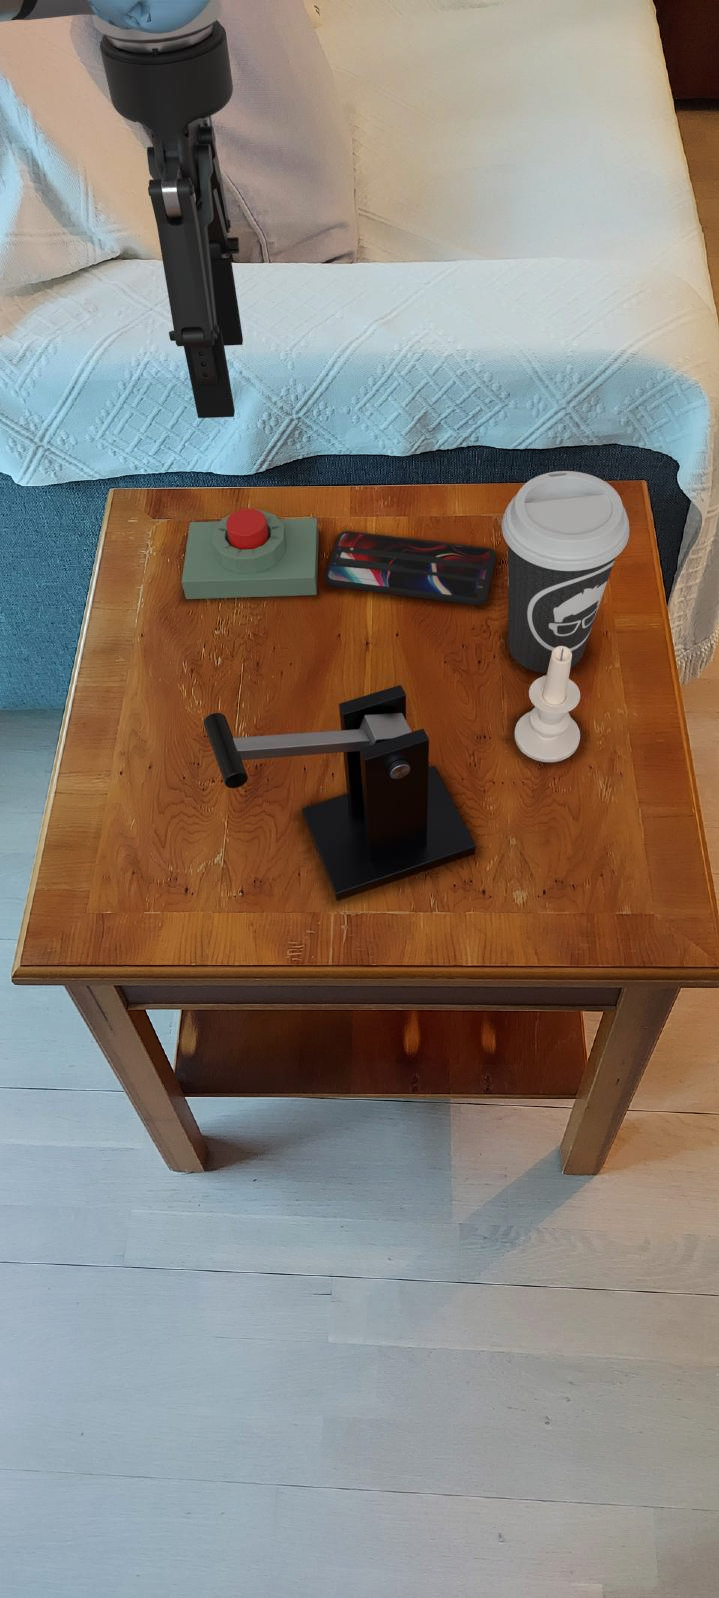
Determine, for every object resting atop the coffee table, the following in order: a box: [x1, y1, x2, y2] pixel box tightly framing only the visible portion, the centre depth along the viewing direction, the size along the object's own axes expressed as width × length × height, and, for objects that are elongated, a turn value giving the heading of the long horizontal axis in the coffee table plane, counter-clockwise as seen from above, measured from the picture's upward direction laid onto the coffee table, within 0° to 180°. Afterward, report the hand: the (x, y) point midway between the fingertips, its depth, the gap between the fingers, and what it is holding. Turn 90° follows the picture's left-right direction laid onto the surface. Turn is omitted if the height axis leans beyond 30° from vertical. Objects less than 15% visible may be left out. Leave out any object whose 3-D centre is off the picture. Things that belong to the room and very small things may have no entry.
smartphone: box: [324, 530, 497, 606], centre depth 92 cm, size 7×1×15 cm
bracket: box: [301, 684, 477, 902], centre depth 70 cm, size 11×8×14 cm
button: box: [226, 508, 268, 550], centre depth 90 cm, size 4×4×2 cm
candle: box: [513, 646, 581, 763], centre depth 76 cm, size 5×5×10 cm
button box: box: [181, 509, 320, 600], centre depth 92 cm, size 12×8×4 cm, turn 90°
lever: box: [203, 712, 412, 789], centre depth 64 cm, size 13×5×2 cm, turn 110°
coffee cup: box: [500, 470, 631, 674], centre depth 80 cm, size 10×10×15 cm
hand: (221, 377), depth 77 cm, fingers open, 9 cm apart
